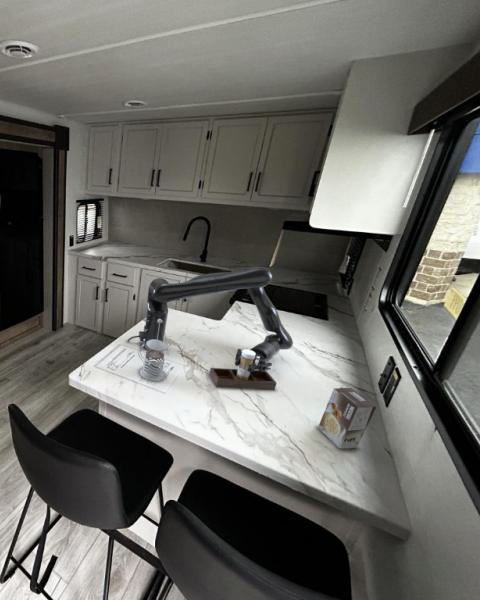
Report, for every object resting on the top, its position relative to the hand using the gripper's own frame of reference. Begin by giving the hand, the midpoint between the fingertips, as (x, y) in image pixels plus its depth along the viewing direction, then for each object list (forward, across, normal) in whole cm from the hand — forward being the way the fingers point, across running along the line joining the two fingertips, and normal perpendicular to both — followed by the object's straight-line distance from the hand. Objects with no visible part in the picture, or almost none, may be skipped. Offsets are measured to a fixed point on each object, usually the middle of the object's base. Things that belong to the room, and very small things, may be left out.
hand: (242, 366), depth 122 cm
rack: (-3, 0, +8) cm, 9 cm away
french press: (+23, -26, +9) cm, 35 cm away
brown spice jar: (-3, 0, +8) cm, 8 cm away
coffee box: (0, +33, +9) cm, 34 cm away
